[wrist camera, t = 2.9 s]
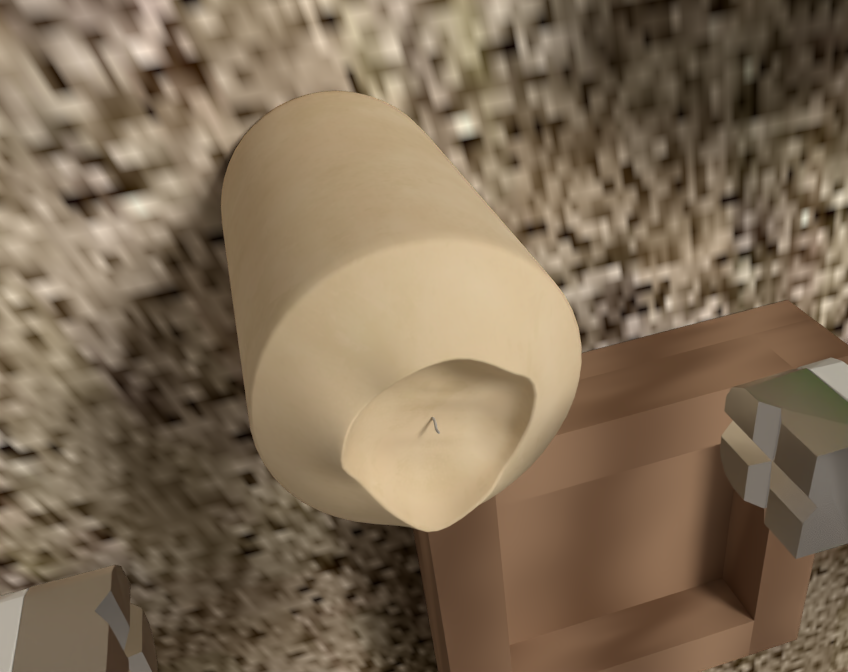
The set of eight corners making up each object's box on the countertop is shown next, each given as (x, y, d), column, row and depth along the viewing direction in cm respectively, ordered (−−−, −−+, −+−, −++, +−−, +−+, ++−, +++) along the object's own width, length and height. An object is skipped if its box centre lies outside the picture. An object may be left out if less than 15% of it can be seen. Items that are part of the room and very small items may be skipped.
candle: (418, 304, 22) (565, 579, 14) (211, 292, 20) (239, 599, 12) (462, 104, 20) (673, 296, 11) (229, 70, 18) (280, 270, 10)
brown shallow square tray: (787, 299, 26) (858, 352, 23) (746, 574, 33) (796, 639, 30) (390, 402, 24) (418, 473, 21) (438, 672, 31) (463, 750, 28)
